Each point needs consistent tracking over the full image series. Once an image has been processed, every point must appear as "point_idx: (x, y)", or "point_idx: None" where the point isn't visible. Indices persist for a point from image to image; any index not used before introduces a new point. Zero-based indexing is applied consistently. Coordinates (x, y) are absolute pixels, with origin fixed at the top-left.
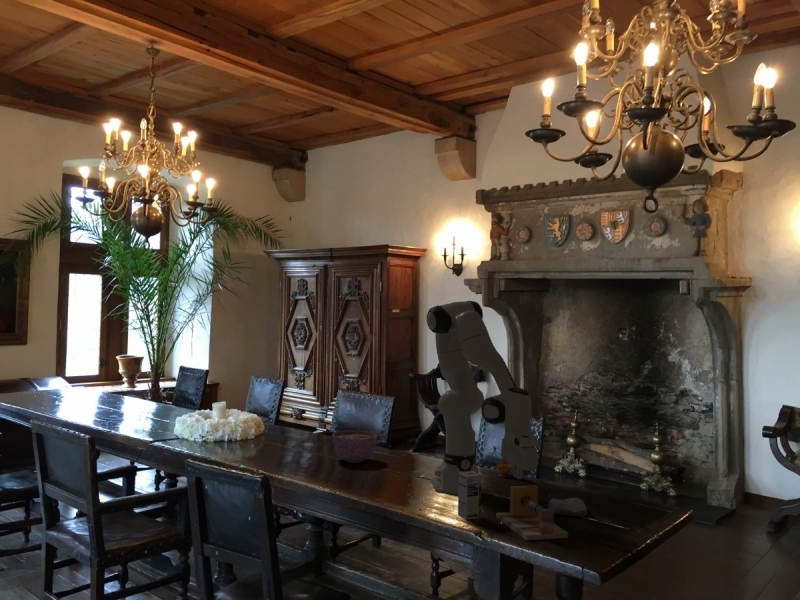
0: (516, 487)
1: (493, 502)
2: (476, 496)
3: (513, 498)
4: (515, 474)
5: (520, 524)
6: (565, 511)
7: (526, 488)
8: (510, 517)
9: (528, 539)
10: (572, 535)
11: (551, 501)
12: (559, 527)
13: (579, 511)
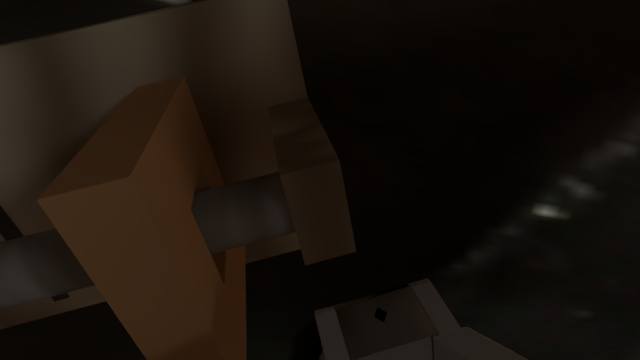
0: (88, 240)
1: (575, 38)
2: None
3: (92, 142)
4: (383, 329)
5: (18, 113)
6: (321, 354)
7: (135, 327)
8: (174, 72)
9: None
10: (28, 336)
11: None
12: (46, 313)
13: None
